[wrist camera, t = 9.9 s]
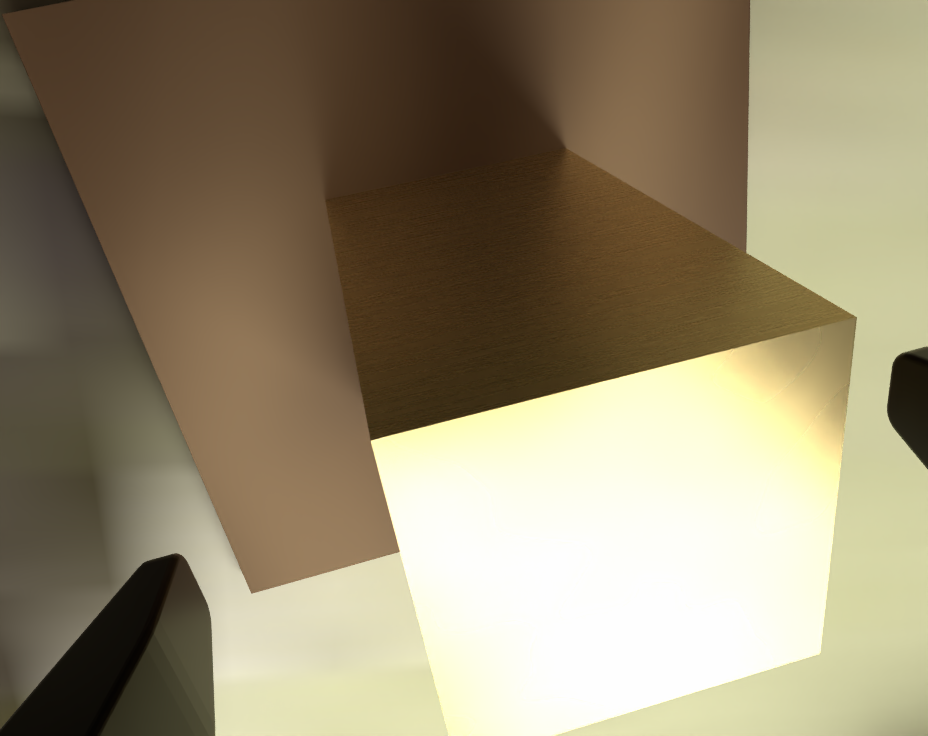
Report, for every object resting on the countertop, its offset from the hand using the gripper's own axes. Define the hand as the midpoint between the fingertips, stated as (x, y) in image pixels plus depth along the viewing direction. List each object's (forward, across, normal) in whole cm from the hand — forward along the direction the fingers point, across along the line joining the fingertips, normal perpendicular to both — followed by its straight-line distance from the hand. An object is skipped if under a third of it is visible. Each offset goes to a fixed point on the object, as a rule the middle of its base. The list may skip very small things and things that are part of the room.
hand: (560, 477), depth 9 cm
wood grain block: (+6, 0, 0) cm, 6 cm away
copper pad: (+7, 0, 0) cm, 7 cm away
